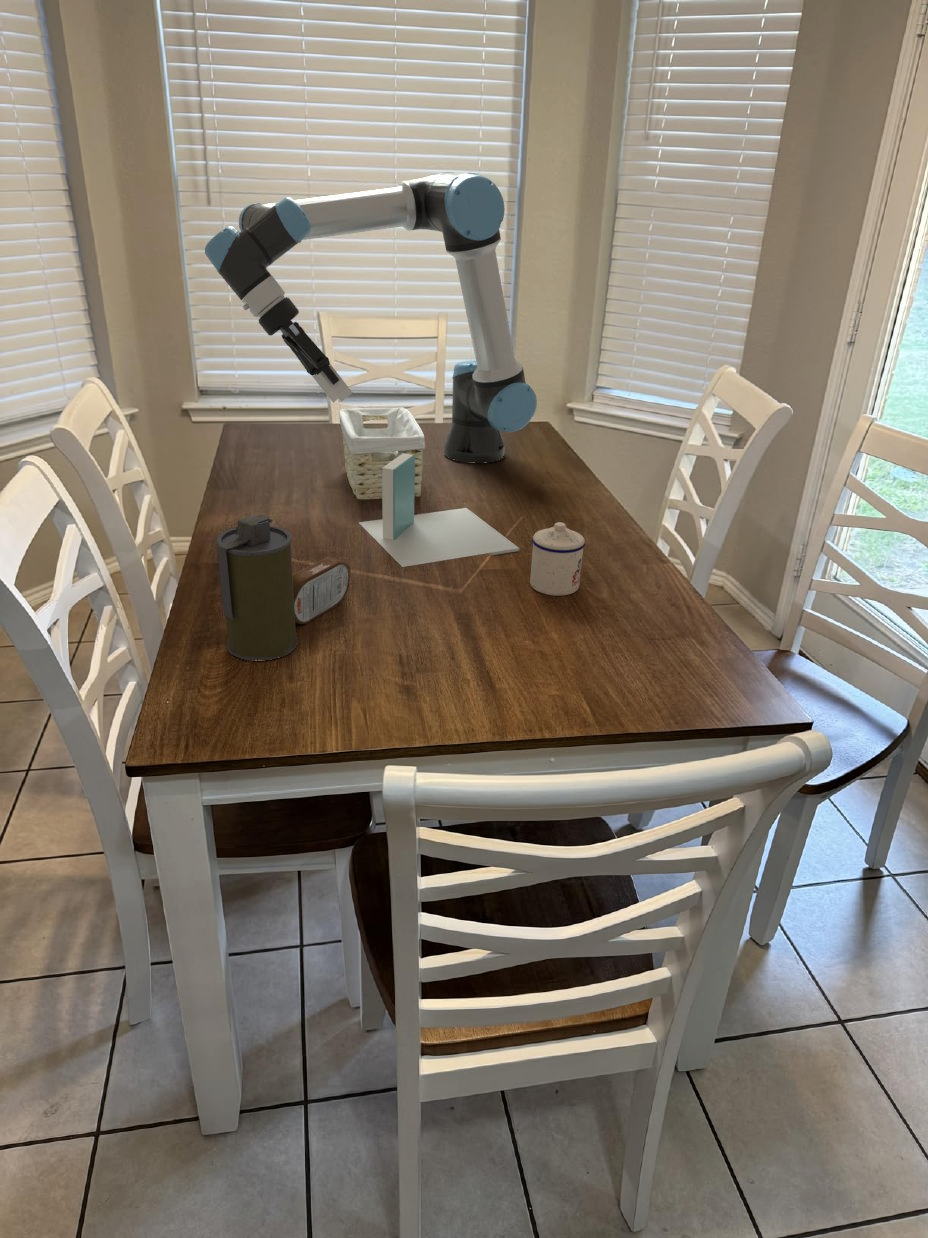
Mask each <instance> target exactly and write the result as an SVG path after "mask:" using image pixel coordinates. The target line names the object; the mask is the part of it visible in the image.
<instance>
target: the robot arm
mask: <svg viewBox="0 0 928 1238" xmlns="http://www.w3.org/2000/svg"><path fill="white" fill-rule="evenodd" d="M504 217H505V202H504V198H503V195H502V193H501V191H500V189H499V187H498V186H497V185H496V184H495V183H494V182H493V181H492V180H491V179H490V178H488V177H486V176H483V175H481V174H477V173H473V172H453V171H452V172H451V171H447V172H446V171H445V172H440V173H439V172H438V173H436V174H431V175H428V176H424V177H419V178H415V179H408V180H402V181H400V182H399V184H398V185H397V187H389V188H388V187H387V188H380V189H374V190H373V189H372V190H364V191H358V192H350V193H341V194H334V195H326V196H318V197H317V196H316V197H310V198H301V199H293V198H292V197H289V196H287V197H284V198H282V199H281V200H280V201H278V202H272V203H271V202H270V203H264V204H263V203H260V202H259V203H258V202H257V203H251V204H249V205H246V206H245V207H244V208H243V209H242V210H241V211H240V214H239V217H238V227H239V230H240V231H239V230H238V229H236V228H235V226H232V225H229V226H227V227H225V228H223V229H222V230H220V231H218V233H216V235H214V236H213V237H212V238H211V239H209V241H208V242H207V243H206V245H205V247H204V254H205V256H206V257H207V259H208V260H209V261H210V263H211V264H212V265H213V267H214V268H215V270H216V271H217V273H218V274H219V275H220V276H221V277H222V279H223V280H224V281H225V282H226V284H227V285H228V286H229V287H230V288H231V290H232V291H233V292H234V294H236V296H237V297H238V299H240V301H242V303H243V304H244V305H243V306H242V307H243V310H244V311H248V310H249V312H250V313H251V314H252V316H253V317H254V318H258V324H259V325H260V326H261V327H262V329H263V330H264V332H265V333H267V335H268V336H273V335H275V334H276V333H278V332H279V331H281V339H282V340H283V342H284V343H285V344H286V346H288V348H289V349H290V350H291V352H292V353H293V354H294V355H295V356H296V358H297V359H298V361H299V362H300V363H301V365H302V366H303V368H304V369H305V371H306V373H308V374H309V375H310V376H311V377H312V378H313V379H314V381H315V382H316V383H317V384H318V386H319V387H320V388H321V390H322V391H323V392H324V393H325V394H326V396H327V397H328V398H329V399H330V401H331V402H332V403H333V404H334V403H336V401H338V400H339V401H340V402H343V401H345V400H346V399H347V398H348V397H349V396H351V395H352V394H353V391H352V390H351V388H350V387H349V386H348V385H347V383H346V382H345V381H344V379H343V378H342V377H341V376H340V374H339V373H338V372H337V370H336V369H335V368H334V367H333V365H332V364H331V363H330V359H329V357H328V356H326V355H325V353H324V352H322V350H321V349H320V348H319V347H318V345H317V344H316V343H315V342H314V341H313V340H312V338H311V337H309V335H308V334H307V333H306V332H305V330H304V328H303V327H301V325H300V324H299V322H297V321H294V322H293V320H294V319H295V318H296V317H297V316H298V315H299V312H300V311H299V309H298V307H297V306H296V305H295V304H294V302H293V301H292V300H291V299H290V297H285V294H286V292H285V290H284V288H282V286H281V285H280V284H279V283H278V281H277V280H276V279H275V278H274V276H273V275H272V274H271V272H269V270H268V267H269V266H271V265H273V263H274V262H276V261H278V259H280V258H281V257H283V255H284V254H286V253H288V252H289V251H290V250H291V249H293V248H294V247H295V246H297V245H298V244H301V242H302V241H306V240H313V239H314V240H315V239H321V238H327V237H336V236H343V235H350V234H357V233H364V232H372V231H378V230H386V229H395V228H401V227H402V228H404V229H405V230H406V231H408V232H409V231H411V232H412V231H415V230H416V231H417V230H428V231H436V232H440V233H442V236H443V242H444V247H445V251H446V253H447V254H449V255H450V256H452V257H453V258H454V259H455V263H456V267H457V268H456V269H457V272H458V273H457V274H458V278H459V279H458V280H459V285H460V287H461V293H462V299H463V304H464V309H465V313H466V318H467V323H468V328H469V333H470V337H471V339H470V340H471V343H472V348H473V352H474V353H473V354H474V358H475V360H465V361H459V362H457V363H456V364H455V365H454V367H453V372H452V373H453V374H452V402H451V403H452V408H451V409H452V411H451V414H452V415H451V424H450V428H449V430H448V434H447V437H446V439H445V442H444V446H443V455H444V454H445V455H446V456H447V457H449V458H450V460H451V459H455V460H458V461H462V462H461V463H463V462H475V463H482V464H485V463H484V462H492V463H495V462H494V461H496V462H498V461H497V460H499V459H501V460H502V458H503V459H504V457H505V444H504V440H503V438H502V434H501V432H504V433H515V432H518V431H520V430H522V429H524V428H525V427H526V426H527V425H528V424H529V423H530V422H531V420H532V418H533V417H534V415H535V413H536V410H537V405H538V403H537V402H538V401H537V400H538V399H537V395H536V393H535V391H534V389H533V388H532V387H531V386H530V385H529V384H528V383H527V381H526V377H525V372H524V366H523V364H522V363H521V362H520V361H518V360H516V358H515V354H514V347H513V342H512V337H511V331H510V325H509V321H508V315H507V309H506V303H505V302H506V301H505V297H504V292H503V285H502V281H501V275H500V270H499V263H498V256H497V252H496V251H497V250H496V248H497V246H498V245H499V243H500V242H501V240H502V239H501V233H500V228H501V225H502V222H504ZM445 455H444V456H445ZM446 456H445V457H446ZM503 456H504V457H503ZM447 457H446V458H447ZM449 458H448V459H449ZM458 461H457V462H458ZM499 461H500V460H499Z"/></svg>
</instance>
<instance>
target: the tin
mask: <svg viewBox="0 0 928 1238" xmlns="http://www.w3.org/2000/svg"><path fill="white" fill-rule="evenodd" d="M292 577H293V594H294V612H295V624H298V625H305V624H308V623H310V622H312V621H314V620H315V619H317V618H319V617H320V616H323V615H324V614H326V613H328V612H329V611H331V610H332V609H334V608H336V607H337V606H339V604H341V603H342V601H343V600H344V599H345V597H346V596H347V594H348V592H349V588H350V580H351V569H350V565H348V564H347V563H346V562H345V561H343V560H340V559H338V558H336V557H334V556H326V557H324V558H322V559H320V560H318V561H317V562H314V563H312V564H310V565H309V566H307V567H304V568H302V569H301V570H299V571H297V572H294V573H292Z"/></svg>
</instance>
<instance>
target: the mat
mask: <svg viewBox="0 0 928 1238" xmlns="http://www.w3.org/2000/svg"><path fill="white" fill-rule="evenodd" d="M358 524H359V525H360V526H361V527H362V528H363V529H364V530H365V531H366V532H367V533H368V534H369V535H370V536H371V537H372V538H373V539H374V540H375V541H376V542H377V543H378V544H379V545H380V546H381V547H382V549H384V550H385V552H386V553H388V555H390V556H391V557H392V558H393V560H395V561H396V563H398V564H399V566H401V567H402V568H406V567H411V566H418V565H425V564H431V563H435V562H436V563H437V562H443V561H449V560H455V559H460V558H467V557H473V556H479V555H480V556H481V555H484V554H486V555H487V554H488V555H487V556H489V557H490V556H496V555H501V554H508V553H514V552H520V547H518V546H517V545H516V544H515V543H513V542H512V541H510V540H509V539H508V538H507V537H505V536H504V535H503V534H502V533H500V532H499V531H497V530H496V529H495V528H493V527H492V526H491V525H489V524H488V523H487V522H486V521H484V520H483V519H481V517H479V516H478V515H476V514H475V513H474V512H473V511H471V510H470V509H468V508H467V507H463V508H456V509H448V510H442V511H440V510H439V511H431V512H426V513H418V514H414V523H413V524H412V525H411V526H410V527H409V528H407V529H406V530H405V531H404V532H403V533H402V534H401V535H400V536H398V537H397V538H396V539H395V540H392V539H386V538H383V518H381V519H374V520H367V521H362V522H361V521H359V522H358Z"/></svg>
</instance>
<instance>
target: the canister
mask: <svg viewBox="0 0 928 1238" xmlns="http://www.w3.org/2000/svg"><path fill="white" fill-rule="evenodd" d="M272 522H273V519H272V518H269V517H267V516H264V515H262V514H259V515H255V516H252V517H251V516H250V517H249V518H247V517H245V518H241V519H239V520H237V526H236V527H232V528H229V529H227V530H225V531H223V532H222V533H221V534H219V536H218V537H217V538H216V542H215V543H216V550H217V551H216V552H217V561H218V570H219V571H218V572H219V581H220V591H221V601H222V612H223V617H225V622H226V623H225V624H226V633H227V643H226V647H227V648H226V649H227V651H228V653H229V652H230V653H229V654H230V655H232V654H233V655H234V656H236V657H239V658H242V659H244V660H243V661H245V660H254V661H255V660H257V661H258V660H270V659H276V658H278V657H282V658H284V657H286V656H285V655H286V654H289V653H290V654H291V653H293V652H294V651H295V650H296V649H297V647H298V644H299V639H298V636H297V634H296V633H297V631H296V623H295V612H294V594H293V577H292V575H293V564H292V563H293V562H292V547H291V545H292V541H293V536H292V534H291V533H290V532H289V531H288V530H286V529H285V528H282V527H279V526H274V525H271V524H270V523H272ZM296 646H297V647H296ZM295 648H296V649H295ZM293 650H294V651H293ZM292 651H293V652H292ZM290 654H289V655H290ZM233 655H232V656H233ZM234 656H233V657H234ZM283 656H284V657H283ZM236 657H235V658H236ZM239 658H238V659H239ZM242 659H241V660H242ZM276 660H277V659H276Z"/></svg>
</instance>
